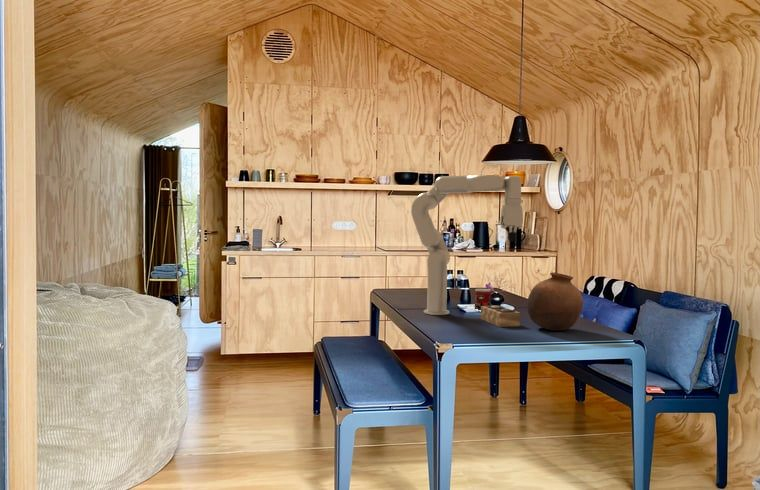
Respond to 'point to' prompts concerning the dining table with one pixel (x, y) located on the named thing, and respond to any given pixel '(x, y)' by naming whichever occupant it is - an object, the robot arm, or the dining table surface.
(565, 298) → the pottery
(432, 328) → the dining table surface
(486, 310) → the oak block
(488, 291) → the canned food
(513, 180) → the robot arm
